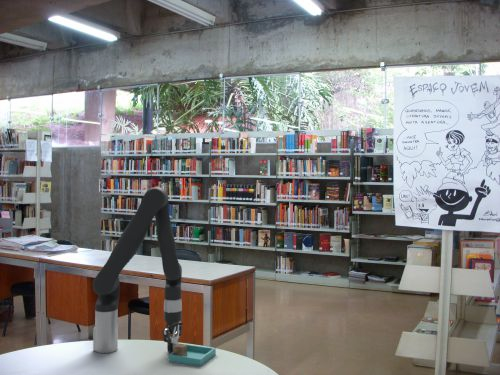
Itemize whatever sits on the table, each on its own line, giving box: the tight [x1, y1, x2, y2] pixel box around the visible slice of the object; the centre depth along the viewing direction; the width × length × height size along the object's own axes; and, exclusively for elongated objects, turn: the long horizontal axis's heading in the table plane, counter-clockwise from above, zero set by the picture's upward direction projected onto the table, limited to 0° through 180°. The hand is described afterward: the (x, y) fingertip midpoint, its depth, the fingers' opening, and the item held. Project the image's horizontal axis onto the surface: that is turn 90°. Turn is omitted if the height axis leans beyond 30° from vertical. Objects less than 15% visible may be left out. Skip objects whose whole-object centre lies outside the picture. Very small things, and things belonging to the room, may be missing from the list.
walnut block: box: [174, 342, 187, 357], centre depth 203 cm, size 4×4×5 cm
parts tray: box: [168, 343, 217, 367], centre depth 205 cm, size 14×14×3 cm
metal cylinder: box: [170, 335, 179, 353], centre depth 214 cm, size 4×4×6 cm
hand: (172, 349), depth 214 cm, fingers closed on metal cylinder, 4 cm apart
